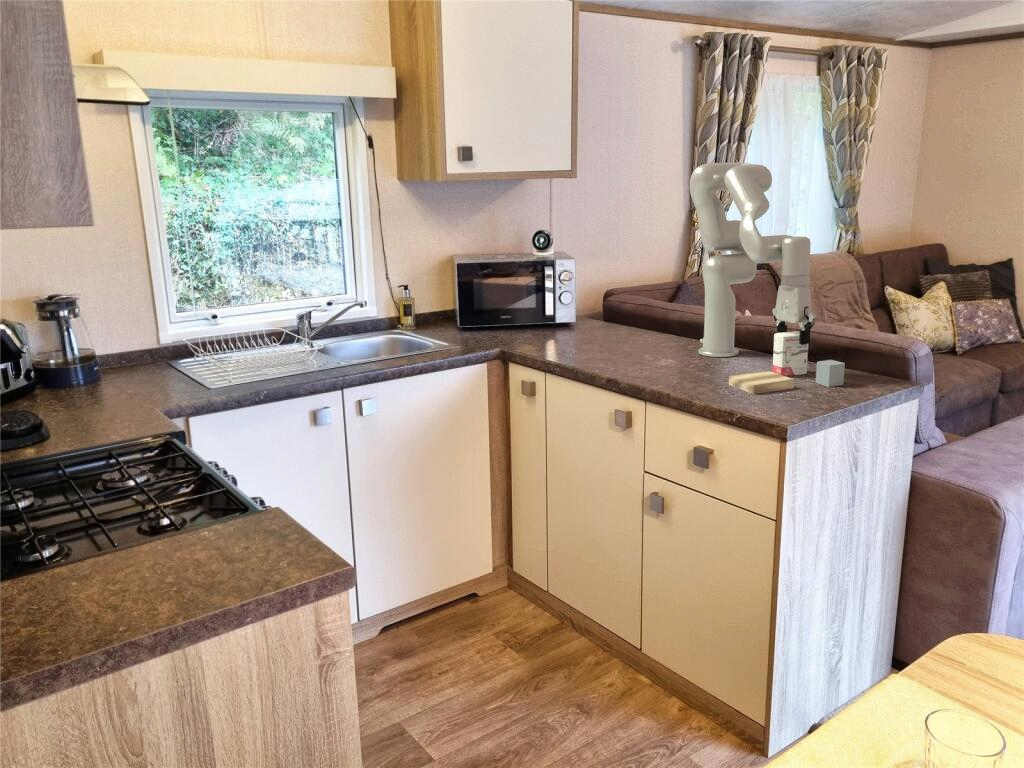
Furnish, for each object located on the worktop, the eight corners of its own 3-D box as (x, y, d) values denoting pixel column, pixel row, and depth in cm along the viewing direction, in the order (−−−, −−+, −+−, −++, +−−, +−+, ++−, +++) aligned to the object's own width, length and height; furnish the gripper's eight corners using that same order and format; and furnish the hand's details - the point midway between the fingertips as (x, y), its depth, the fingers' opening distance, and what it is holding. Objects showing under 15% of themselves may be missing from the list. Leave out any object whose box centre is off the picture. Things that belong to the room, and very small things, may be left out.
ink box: (781, 377, 227) (783, 336, 224) (771, 373, 232) (773, 333, 229) (807, 374, 229) (809, 333, 227) (797, 370, 234) (799, 330, 231)
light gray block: (815, 382, 220) (816, 361, 219) (830, 380, 222) (831, 359, 220) (828, 386, 216) (829, 365, 214) (843, 384, 217) (844, 363, 216)
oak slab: (728, 386, 221) (729, 375, 220) (767, 381, 225) (768, 370, 225) (753, 395, 211) (753, 385, 210) (793, 390, 215) (794, 379, 215)
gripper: (764, 280, 230) (762, 338, 234) (805, 284, 215) (802, 347, 218) (785, 278, 233) (783, 335, 237) (827, 282, 217) (824, 344, 221)
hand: (792, 341), depth 228 cm, fingers open, 9 cm apart
